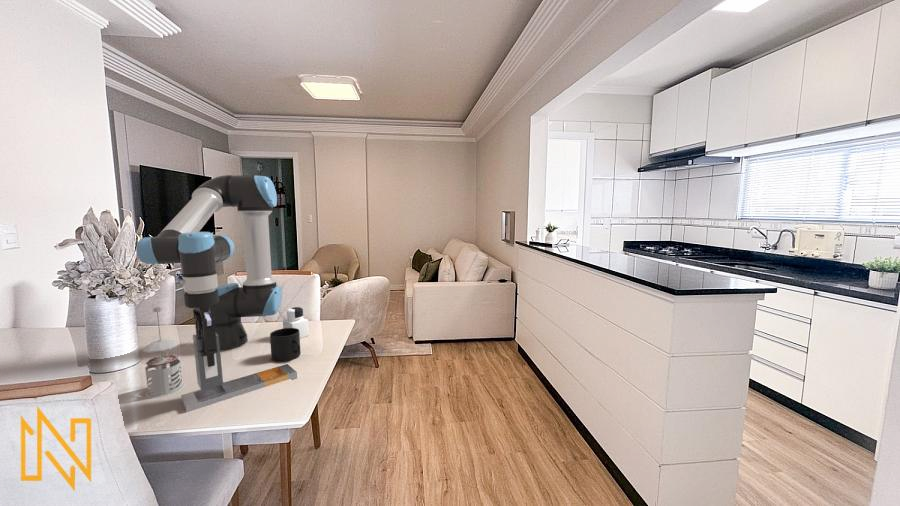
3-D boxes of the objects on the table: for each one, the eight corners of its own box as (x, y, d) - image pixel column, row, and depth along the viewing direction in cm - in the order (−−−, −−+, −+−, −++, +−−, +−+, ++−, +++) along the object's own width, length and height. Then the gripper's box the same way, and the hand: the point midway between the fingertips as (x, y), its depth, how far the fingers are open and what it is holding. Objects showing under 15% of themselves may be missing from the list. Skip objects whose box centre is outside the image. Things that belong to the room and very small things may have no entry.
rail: (181, 402, 96) (180, 395, 96) (287, 369, 116) (287, 363, 116) (186, 414, 91) (185, 406, 91) (297, 377, 110) (296, 371, 110)
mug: (288, 365, 119) (287, 339, 118) (265, 358, 124) (263, 334, 123) (311, 355, 127) (310, 331, 126) (288, 349, 133) (287, 326, 132)
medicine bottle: (299, 332, 151) (298, 305, 150) (309, 335, 147) (307, 307, 146) (283, 337, 145) (281, 308, 144) (293, 341, 141) (291, 311, 140)
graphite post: (197, 383, 98) (192, 335, 96) (218, 377, 101) (214, 330, 99) (201, 390, 94) (196, 340, 92) (223, 384, 98) (218, 335, 96)
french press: (137, 403, 96) (127, 314, 93) (153, 384, 106) (144, 303, 103) (181, 396, 100) (173, 309, 96) (192, 378, 110) (185, 299, 107)
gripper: (178, 286, 98) (186, 366, 101) (190, 299, 85) (199, 390, 88) (210, 282, 103) (217, 358, 106) (226, 294, 90) (233, 379, 94)
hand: (209, 372), depth 97 cm, fingers closed on graphite post, 5 cm apart
